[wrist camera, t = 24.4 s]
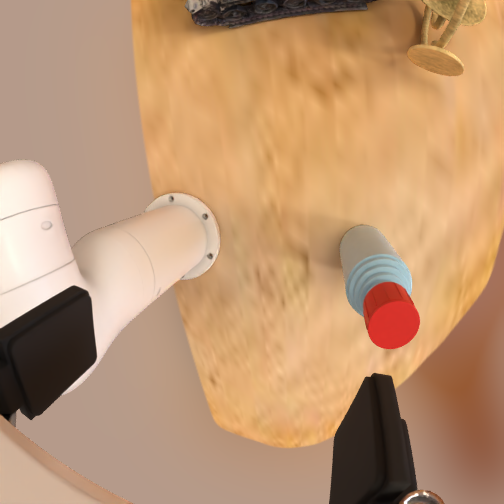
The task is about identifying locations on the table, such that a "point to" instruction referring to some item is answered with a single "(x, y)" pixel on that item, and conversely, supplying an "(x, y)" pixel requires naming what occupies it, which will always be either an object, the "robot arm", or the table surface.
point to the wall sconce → (445, 33)
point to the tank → (262, 10)
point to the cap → (390, 315)
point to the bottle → (369, 264)
